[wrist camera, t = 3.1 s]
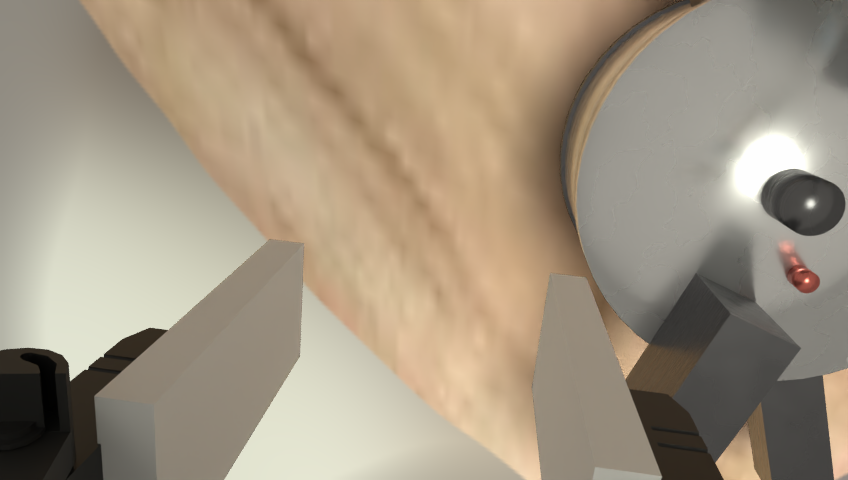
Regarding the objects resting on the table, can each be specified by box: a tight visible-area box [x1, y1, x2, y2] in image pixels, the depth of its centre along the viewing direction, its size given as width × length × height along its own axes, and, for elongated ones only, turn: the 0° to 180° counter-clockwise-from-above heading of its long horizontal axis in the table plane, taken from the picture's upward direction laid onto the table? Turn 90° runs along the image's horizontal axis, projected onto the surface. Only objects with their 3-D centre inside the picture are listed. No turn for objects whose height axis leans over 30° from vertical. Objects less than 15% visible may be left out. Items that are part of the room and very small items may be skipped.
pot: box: [560, 0, 834, 480], centre depth 35 cm, size 31×18×8 cm, turn 15°
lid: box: [574, 0, 848, 462], centre depth 29 cm, size 30×19×6 cm, turn 155°
